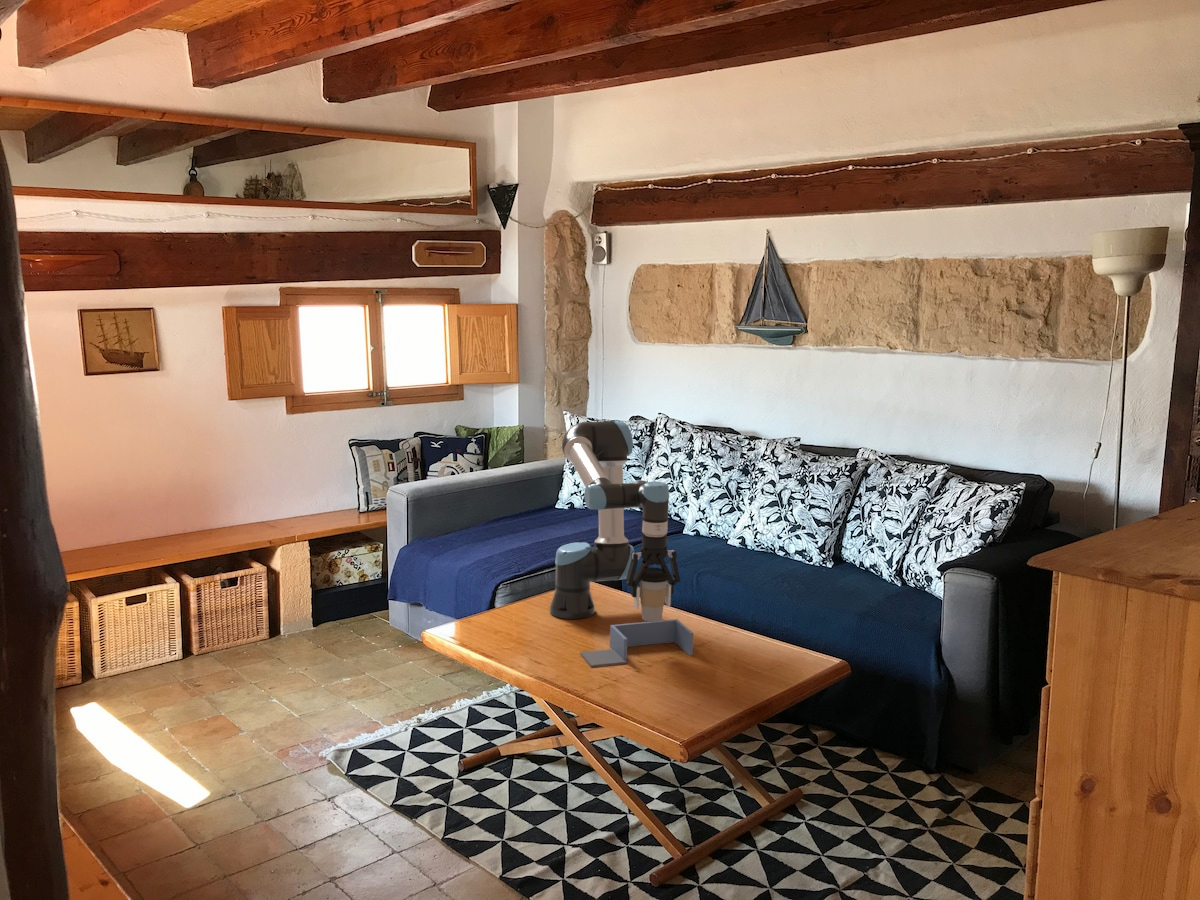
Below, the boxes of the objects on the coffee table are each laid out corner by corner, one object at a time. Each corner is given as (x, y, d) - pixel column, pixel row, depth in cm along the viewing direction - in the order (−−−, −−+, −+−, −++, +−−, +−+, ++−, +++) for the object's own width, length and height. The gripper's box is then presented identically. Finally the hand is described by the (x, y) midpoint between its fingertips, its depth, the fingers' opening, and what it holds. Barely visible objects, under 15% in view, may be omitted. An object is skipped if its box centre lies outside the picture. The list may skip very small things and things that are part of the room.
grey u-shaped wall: (609, 647, 305) (610, 625, 304) (676, 640, 311) (677, 619, 310) (623, 662, 292) (624, 639, 291) (692, 655, 299) (693, 632, 298)
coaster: (580, 654, 298) (580, 652, 298) (615, 650, 301) (615, 648, 301) (591, 667, 288) (591, 665, 288) (626, 663, 291) (626, 661, 291)
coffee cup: (667, 614, 305) (669, 567, 302) (666, 625, 295) (668, 576, 293) (637, 612, 305) (638, 565, 303) (635, 623, 296) (636, 575, 293)
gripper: (623, 539, 289) (621, 612, 293) (693, 535, 295) (690, 607, 299) (615, 532, 296) (613, 604, 300) (684, 528, 302) (681, 599, 306)
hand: (652, 605), depth 300 cm, fingers closed on coffee cup, 9 cm apart
